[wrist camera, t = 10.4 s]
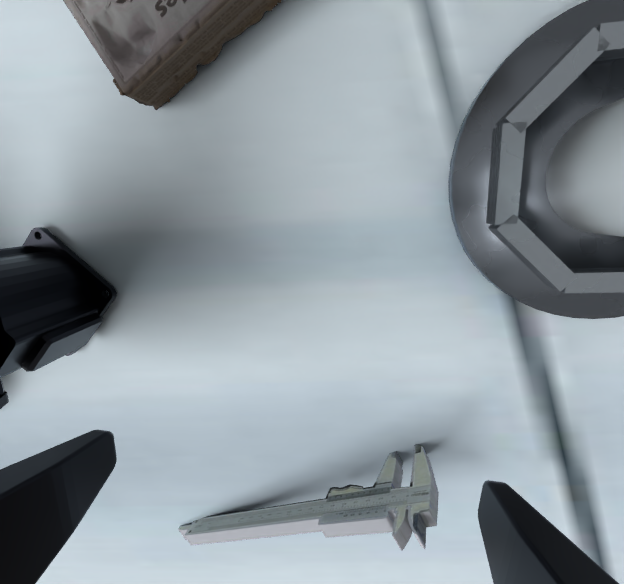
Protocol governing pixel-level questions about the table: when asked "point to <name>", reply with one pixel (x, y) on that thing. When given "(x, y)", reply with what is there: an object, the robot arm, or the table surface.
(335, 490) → the caliper
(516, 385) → the table surface
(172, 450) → the table surface
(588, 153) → the capped white cylinder
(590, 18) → the collar
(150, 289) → the table surface
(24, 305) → the robot arm
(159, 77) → the box
